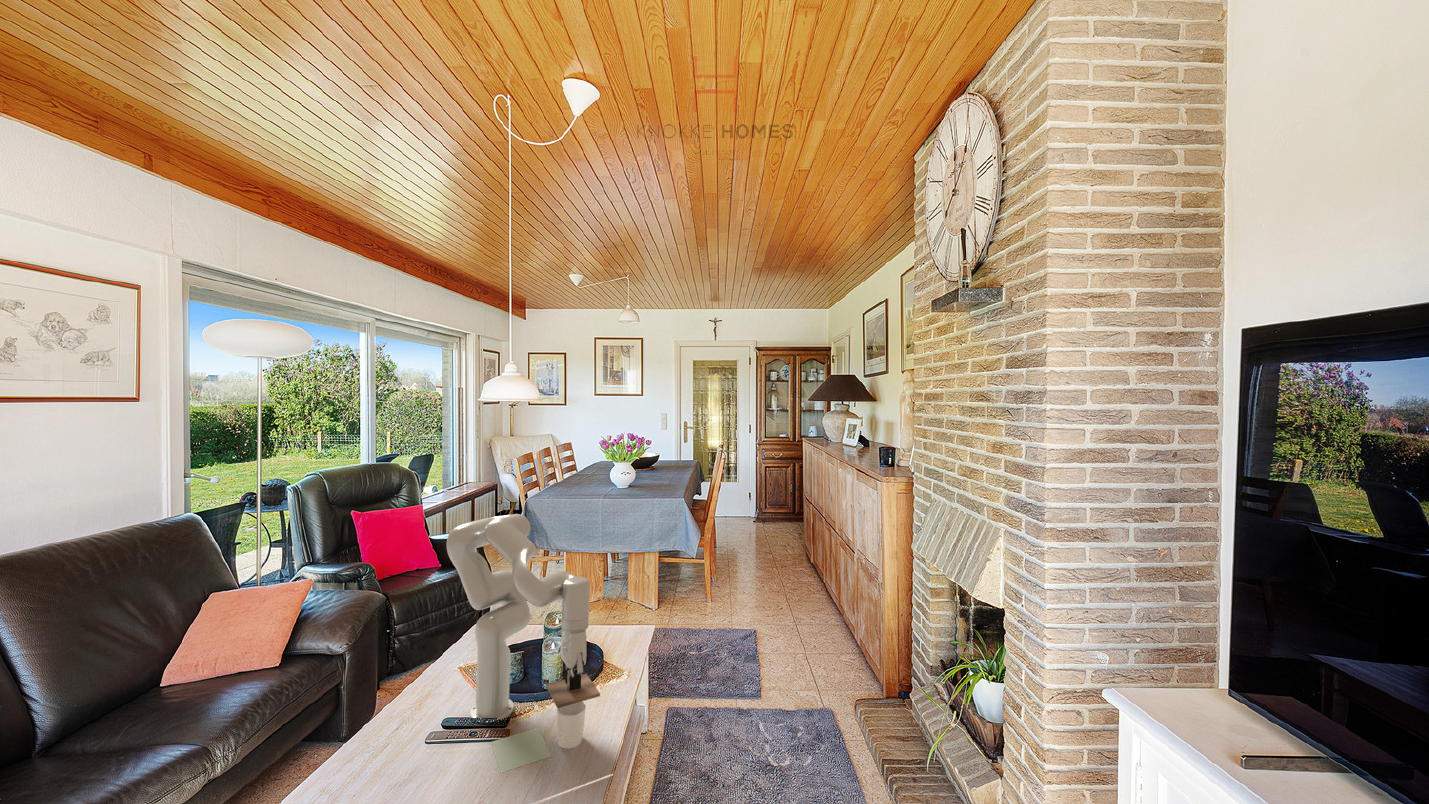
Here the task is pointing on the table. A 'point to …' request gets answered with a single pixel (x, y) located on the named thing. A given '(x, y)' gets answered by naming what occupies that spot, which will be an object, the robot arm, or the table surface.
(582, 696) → the walnut lid
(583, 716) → the white cup
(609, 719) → the table surface
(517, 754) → the sage mat
